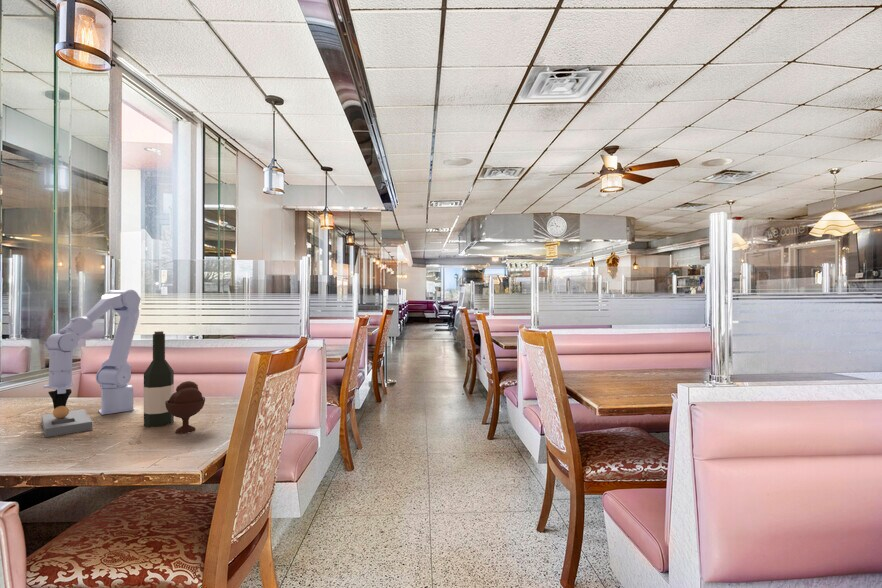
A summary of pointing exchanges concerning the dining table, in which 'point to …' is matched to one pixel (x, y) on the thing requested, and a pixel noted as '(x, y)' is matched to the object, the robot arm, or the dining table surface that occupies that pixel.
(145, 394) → the wine bottle
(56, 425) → the board
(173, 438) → the dining table surface
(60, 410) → the ball
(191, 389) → the ice cream bowl
